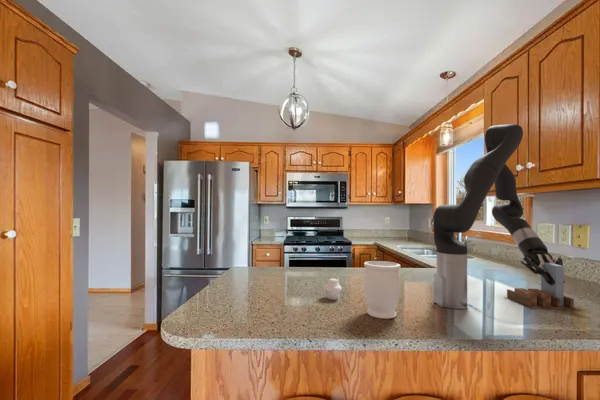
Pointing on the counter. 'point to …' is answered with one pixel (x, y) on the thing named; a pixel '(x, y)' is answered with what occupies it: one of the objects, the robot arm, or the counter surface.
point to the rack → (540, 301)
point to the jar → (382, 288)
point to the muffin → (332, 289)
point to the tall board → (558, 277)
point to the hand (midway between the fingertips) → (557, 283)
